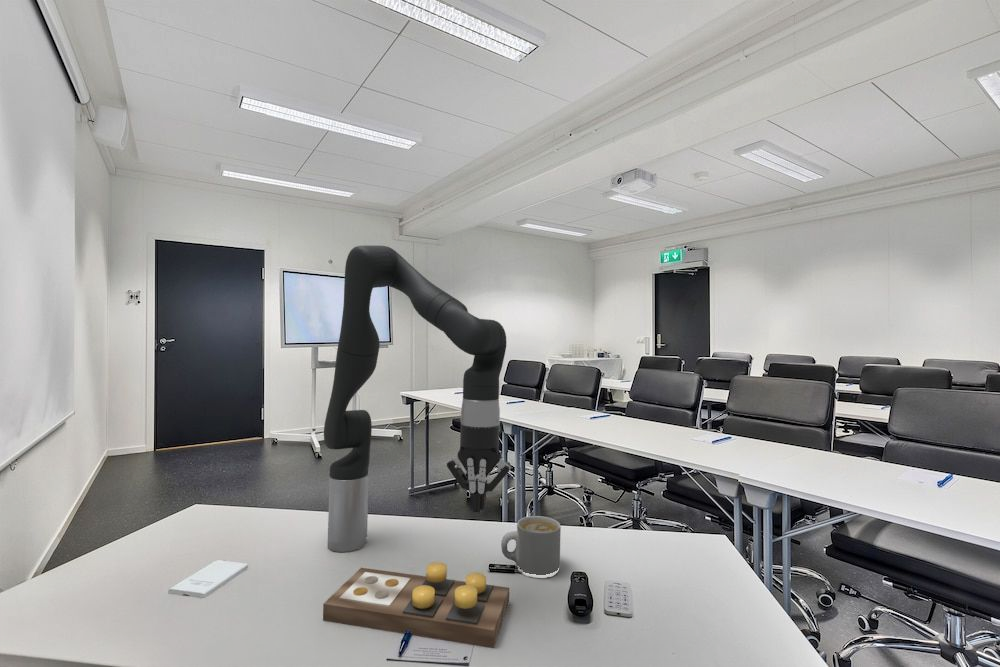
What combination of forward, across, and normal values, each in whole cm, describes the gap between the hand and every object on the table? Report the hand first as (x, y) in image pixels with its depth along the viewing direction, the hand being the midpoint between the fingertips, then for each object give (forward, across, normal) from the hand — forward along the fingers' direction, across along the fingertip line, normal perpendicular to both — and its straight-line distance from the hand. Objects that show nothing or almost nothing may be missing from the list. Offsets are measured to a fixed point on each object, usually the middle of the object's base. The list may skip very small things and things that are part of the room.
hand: (477, 510), depth 92 cm
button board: (+19, +10, +4) cm, 22 cm away
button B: (+15, +8, +7) cm, 18 cm away
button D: (+14, 0, +7) cm, 15 cm away
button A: (+14, +8, 0) cm, 16 cm away
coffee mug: (+19, -8, -19) cm, 28 cm away
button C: (+15, 0, 0) cm, 15 cm away
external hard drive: (+20, +57, +4) cm, 60 cm away
